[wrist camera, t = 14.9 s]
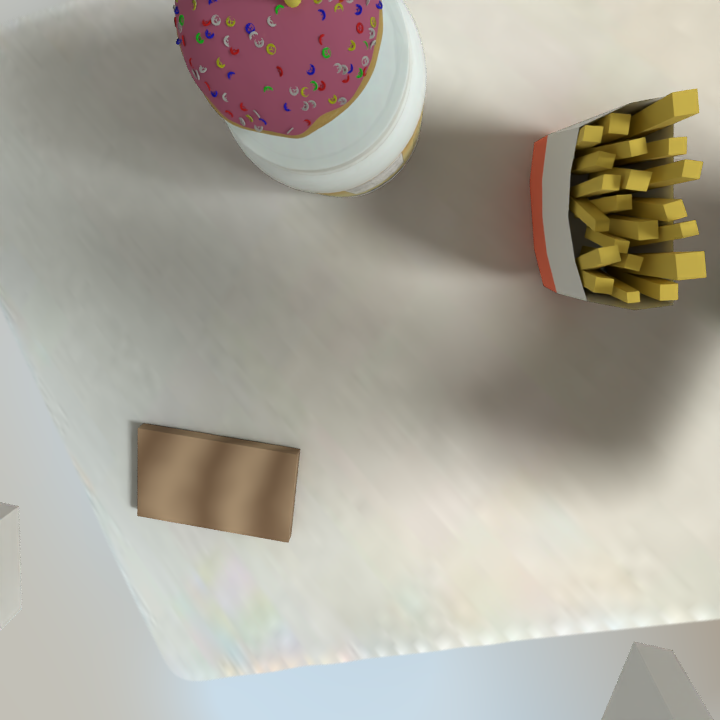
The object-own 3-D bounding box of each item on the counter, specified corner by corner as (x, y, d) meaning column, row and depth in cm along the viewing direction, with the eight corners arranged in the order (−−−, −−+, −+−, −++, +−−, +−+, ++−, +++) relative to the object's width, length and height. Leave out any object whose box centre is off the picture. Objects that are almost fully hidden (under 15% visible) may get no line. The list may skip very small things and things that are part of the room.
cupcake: (377, -62, 23) (343, -330, 12) (397, 136, 26) (385, 73, 14) (200, -25, 24) (13, -236, 13) (235, 162, 27) (101, 122, 15)
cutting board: (300, 449, 50) (297, 454, 49) (291, 535, 53) (288, 542, 52) (143, 423, 51) (137, 428, 50) (143, 509, 54) (137, 515, 53)
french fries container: (531, 282, 43) (609, 327, 26) (522, 147, 40) (602, 98, 23) (587, 274, 43) (705, 315, 25) (581, 137, 40) (710, 78, 23)
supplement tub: (244, 100, 42) (136, 28, 25) (365, -2, 39) (331, -158, 22) (330, 227, 44) (282, 235, 27) (451, 139, 41) (476, 90, 25)
